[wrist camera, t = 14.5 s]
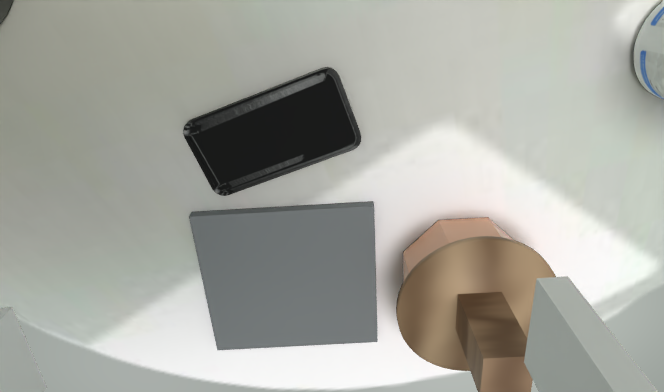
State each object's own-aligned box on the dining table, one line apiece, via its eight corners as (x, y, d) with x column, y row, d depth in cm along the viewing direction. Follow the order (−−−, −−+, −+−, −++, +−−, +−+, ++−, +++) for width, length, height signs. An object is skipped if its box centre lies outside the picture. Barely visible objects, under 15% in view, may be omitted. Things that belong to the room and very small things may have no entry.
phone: (178, 126, 43) (334, 64, 41) (181, 122, 44) (334, 62, 42) (218, 199, 46) (365, 146, 44) (220, 194, 47) (364, 142, 45)
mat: (219, 343, 55) (217, 350, 54) (191, 212, 47) (189, 216, 46) (376, 335, 54) (377, 341, 53) (373, 201, 47) (374, 206, 46)
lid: (396, 368, 48) (409, 446, 40) (396, 240, 42) (411, 304, 34) (545, 360, 48) (588, 438, 40) (567, 231, 42) (624, 292, 34)
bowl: (402, 316, 53) (411, 356, 48) (403, 221, 48) (413, 254, 43) (511, 311, 53) (532, 349, 47) (523, 215, 48) (548, 246, 42)
